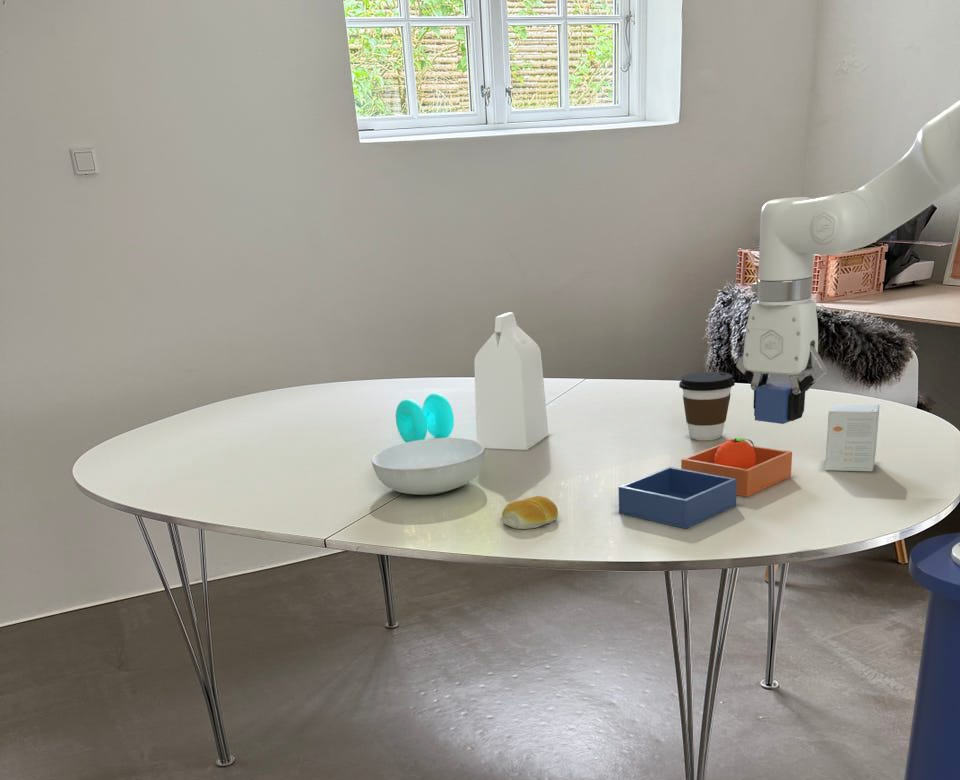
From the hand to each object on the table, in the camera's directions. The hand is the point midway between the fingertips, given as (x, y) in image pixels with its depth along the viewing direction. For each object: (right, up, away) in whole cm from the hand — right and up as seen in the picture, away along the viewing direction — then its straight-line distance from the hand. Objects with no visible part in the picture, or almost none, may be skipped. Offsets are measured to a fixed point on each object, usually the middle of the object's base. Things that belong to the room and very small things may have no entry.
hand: (778, 415), depth 145 cm
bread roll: (-37, -15, +10) cm, 42 cm away
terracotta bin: (-1, -6, +21) cm, 22 cm away
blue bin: (-13, -13, +10) cm, 21 cm away
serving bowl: (-55, -6, +32) cm, 64 cm away
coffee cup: (+1, +7, +49) cm, 49 cm away
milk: (-39, +8, +58) cm, 70 cm away
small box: (+20, -4, +23) cm, 30 cm away
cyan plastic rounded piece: (-57, +9, +64) cm, 87 cm away
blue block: (0, 0, 0) cm, 0 cm away
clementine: (-1, -6, +21) cm, 22 cm away
